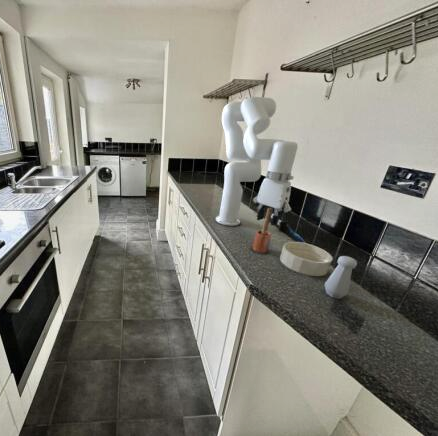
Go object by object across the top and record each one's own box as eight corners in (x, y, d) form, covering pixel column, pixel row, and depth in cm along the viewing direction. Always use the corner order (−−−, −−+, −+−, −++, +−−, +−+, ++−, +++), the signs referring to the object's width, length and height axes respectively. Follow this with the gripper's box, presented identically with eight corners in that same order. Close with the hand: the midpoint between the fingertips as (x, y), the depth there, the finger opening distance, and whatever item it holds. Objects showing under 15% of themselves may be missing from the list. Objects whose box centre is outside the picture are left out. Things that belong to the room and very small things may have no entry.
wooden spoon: (255, 248, 97) (265, 207, 90) (257, 247, 98) (267, 207, 91) (261, 251, 94) (272, 210, 88) (264, 250, 95) (275, 209, 89)
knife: (268, 218, 127) (270, 211, 125) (274, 219, 127) (276, 211, 125) (298, 252, 100) (302, 243, 98) (305, 252, 100) (309, 243, 98)
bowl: (271, 254, 93) (275, 241, 91) (307, 254, 94) (312, 241, 92) (295, 277, 79) (300, 262, 77) (337, 277, 80) (343, 263, 78)
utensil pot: (250, 247, 99) (253, 230, 96) (262, 247, 99) (266, 230, 96) (256, 253, 94) (260, 236, 91) (269, 253, 94) (273, 236, 91)
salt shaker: (335, 302, 69) (351, 265, 64) (317, 289, 74) (331, 254, 69) (349, 298, 70) (366, 262, 65) (331, 286, 75) (345, 252, 70)
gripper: (307, 180, 80) (293, 228, 87) (262, 171, 93) (253, 213, 100) (296, 182, 76) (282, 232, 83) (250, 173, 89) (242, 216, 96)
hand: (266, 221), depth 91 cm, fingers open, 5 cm apart
